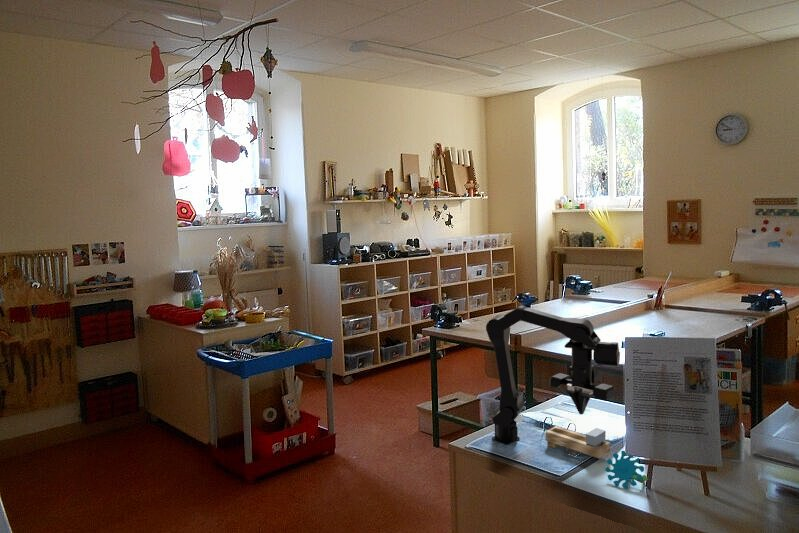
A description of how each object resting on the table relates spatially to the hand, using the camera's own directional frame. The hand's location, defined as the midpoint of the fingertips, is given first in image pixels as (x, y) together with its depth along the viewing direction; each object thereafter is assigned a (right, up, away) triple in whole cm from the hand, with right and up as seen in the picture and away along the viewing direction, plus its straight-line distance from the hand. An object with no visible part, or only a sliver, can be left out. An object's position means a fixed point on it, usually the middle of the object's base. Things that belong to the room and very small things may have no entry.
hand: (581, 413), depth 178 cm
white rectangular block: (+3, -9, -3) cm, 10 cm away
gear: (+7, -15, -17) cm, 24 cm away
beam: (-1, -12, +2) cm, 12 cm away
